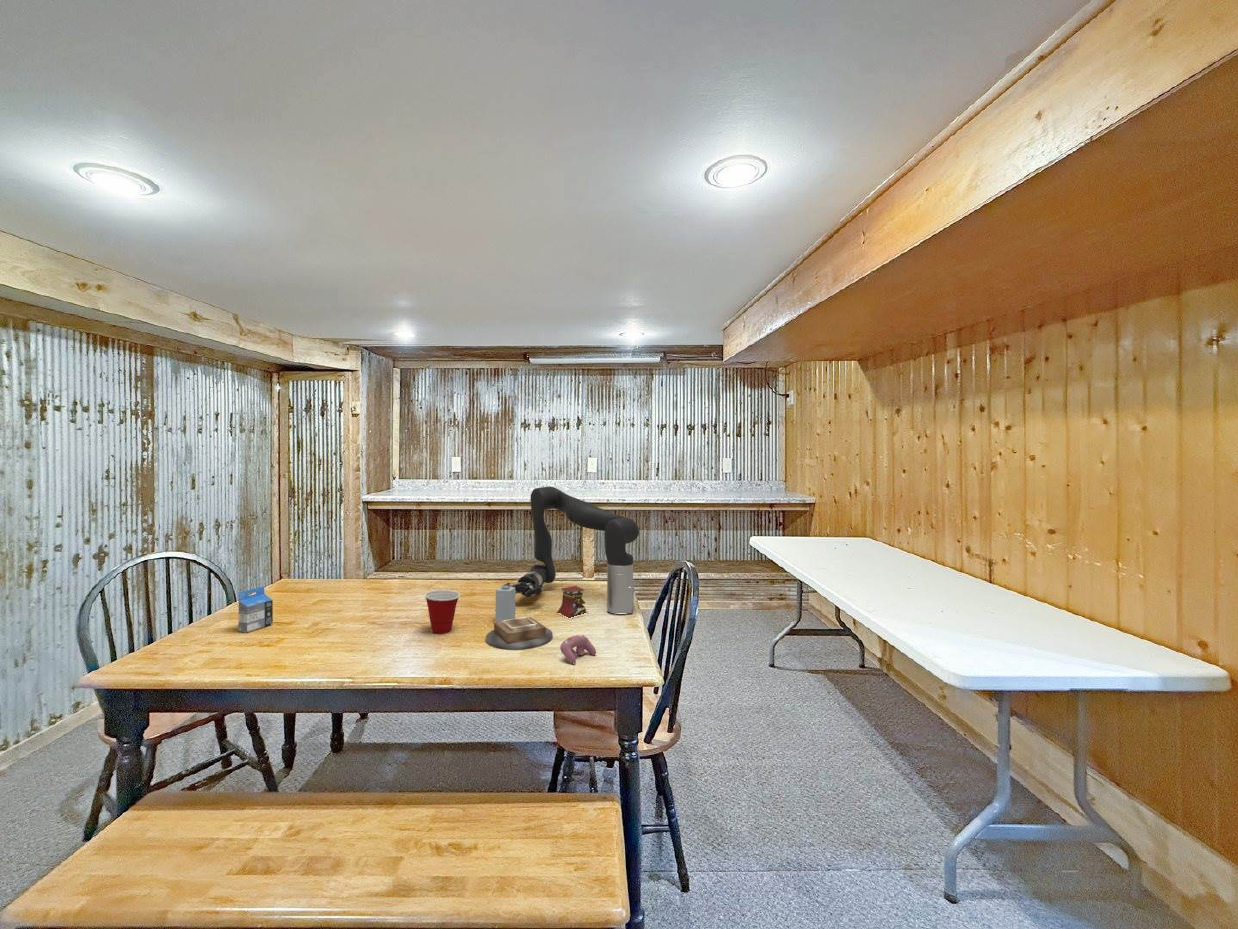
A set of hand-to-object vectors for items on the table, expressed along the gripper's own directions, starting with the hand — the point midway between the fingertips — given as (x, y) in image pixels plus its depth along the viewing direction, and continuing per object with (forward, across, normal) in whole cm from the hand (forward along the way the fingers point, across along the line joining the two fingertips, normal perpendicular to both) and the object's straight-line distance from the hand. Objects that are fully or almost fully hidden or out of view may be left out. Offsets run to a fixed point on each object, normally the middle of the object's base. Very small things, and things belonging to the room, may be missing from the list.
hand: (515, 594), depth 195 cm
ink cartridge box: (+31, -75, +7) cm, 81 cm away
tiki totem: (-2, +20, +7) cm, 21 cm away
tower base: (+25, +10, +6) cm, 28 cm away
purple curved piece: (+38, +31, +7) cm, 49 cm away
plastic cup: (+23, -16, +7) cm, 29 cm away
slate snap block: (+10, 0, +7) cm, 12 cm away
